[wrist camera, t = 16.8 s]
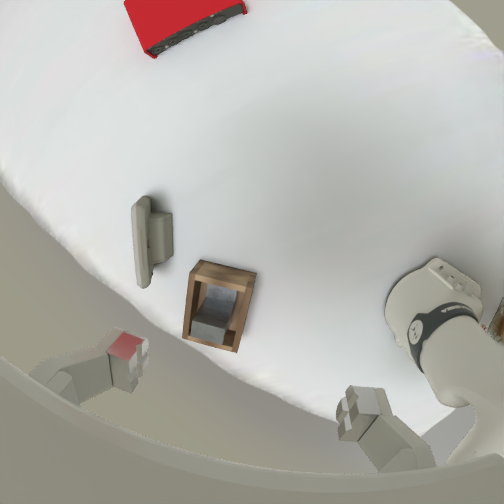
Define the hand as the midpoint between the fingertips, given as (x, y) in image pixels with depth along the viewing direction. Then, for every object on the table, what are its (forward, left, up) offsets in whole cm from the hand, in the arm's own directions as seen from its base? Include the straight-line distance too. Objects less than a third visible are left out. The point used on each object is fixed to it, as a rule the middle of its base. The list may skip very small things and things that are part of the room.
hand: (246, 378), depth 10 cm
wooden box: (+6, +18, -37) cm, 42 cm away
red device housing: (+23, -33, -38) cm, 55 cm away
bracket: (+6, +18, -36) cm, 41 cm away
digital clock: (+20, +9, -37) cm, 43 cm away
